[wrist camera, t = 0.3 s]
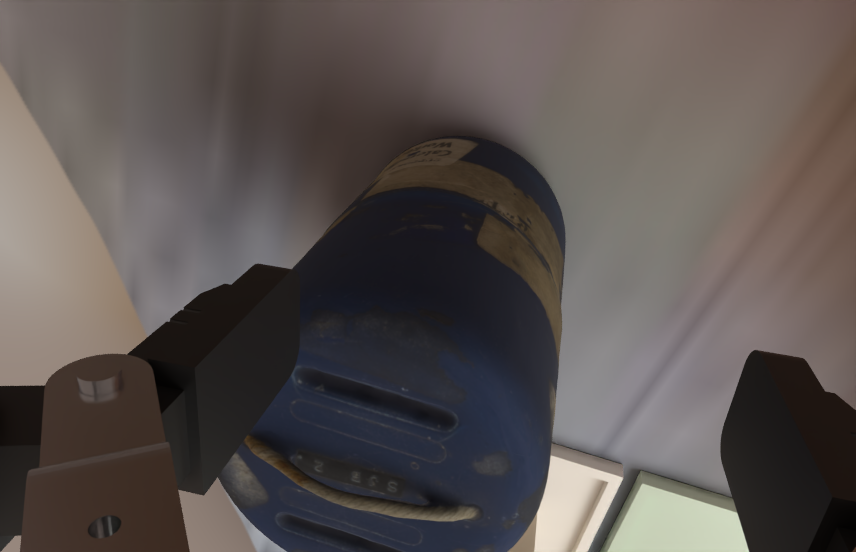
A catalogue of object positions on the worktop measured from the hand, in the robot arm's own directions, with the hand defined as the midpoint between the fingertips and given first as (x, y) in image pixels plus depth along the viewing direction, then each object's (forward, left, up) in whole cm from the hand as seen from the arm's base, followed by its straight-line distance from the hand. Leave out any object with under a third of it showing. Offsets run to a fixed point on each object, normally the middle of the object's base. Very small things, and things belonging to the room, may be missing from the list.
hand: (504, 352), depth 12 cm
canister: (+6, -2, -19) cm, 20 cm away
